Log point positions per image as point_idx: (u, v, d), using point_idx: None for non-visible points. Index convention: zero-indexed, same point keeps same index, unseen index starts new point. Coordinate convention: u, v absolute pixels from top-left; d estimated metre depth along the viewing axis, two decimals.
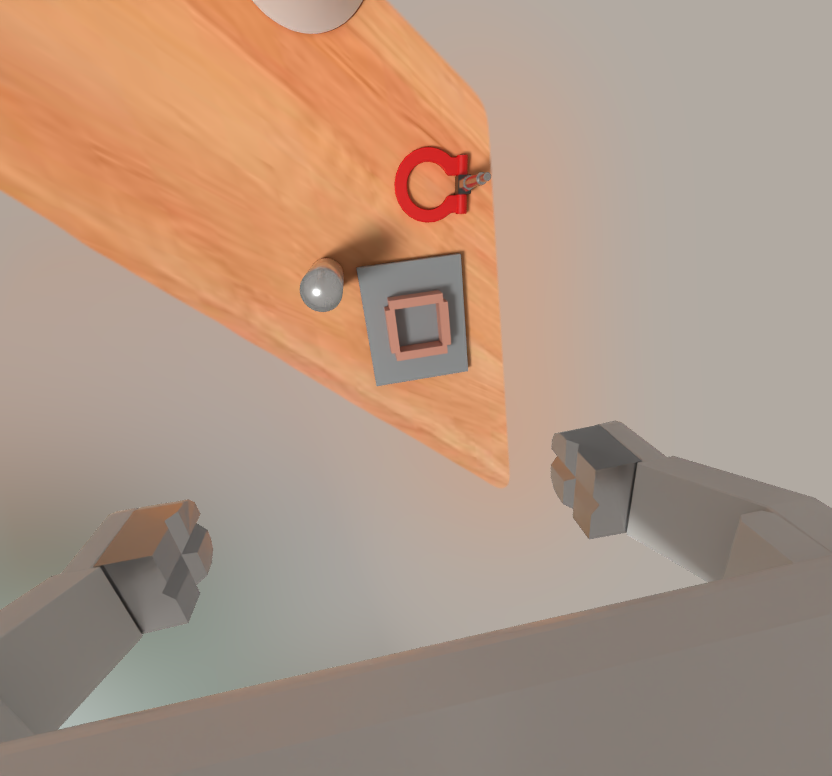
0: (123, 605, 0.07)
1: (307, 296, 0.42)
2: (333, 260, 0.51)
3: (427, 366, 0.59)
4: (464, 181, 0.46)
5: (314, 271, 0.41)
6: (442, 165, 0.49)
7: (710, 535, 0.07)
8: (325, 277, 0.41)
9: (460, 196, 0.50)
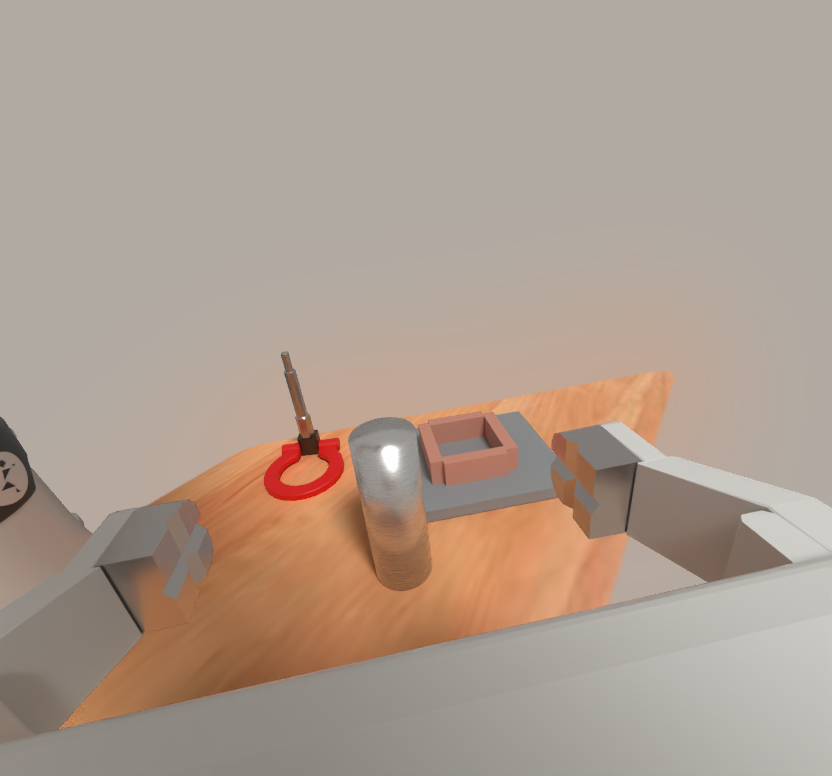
0: (123, 605, 0.07)
1: (388, 446, 0.24)
2: None
3: (524, 440, 0.42)
4: (299, 417, 0.44)
5: (350, 442, 0.25)
6: (287, 460, 0.44)
7: (710, 535, 0.07)
8: (361, 432, 0.26)
9: (320, 442, 0.46)
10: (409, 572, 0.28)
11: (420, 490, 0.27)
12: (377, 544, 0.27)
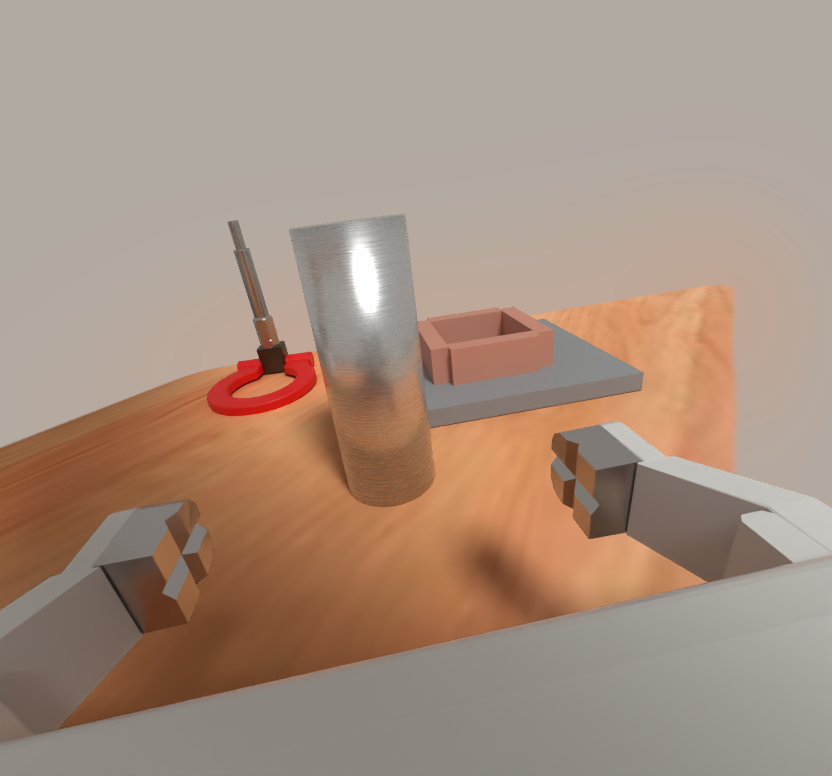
0: (123, 605, 0.07)
1: None
2: None
3: (556, 340, 0.32)
4: (257, 317, 0.33)
5: (292, 229, 0.15)
6: (242, 375, 0.34)
7: (710, 535, 0.07)
8: (313, 225, 0.16)
9: (288, 356, 0.35)
10: (398, 473, 0.17)
11: (414, 328, 0.16)
12: (346, 422, 0.17)
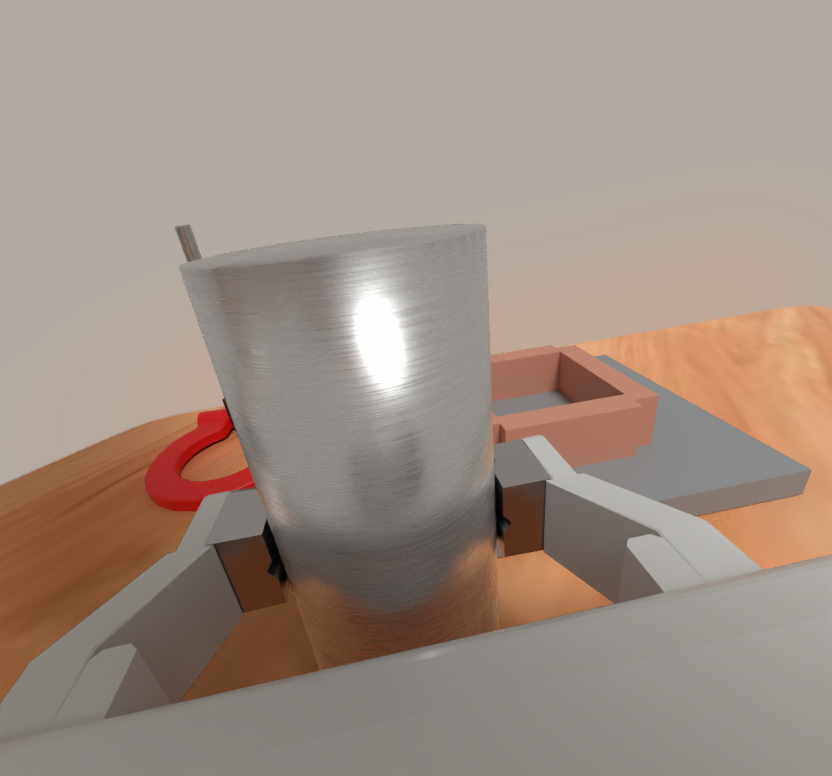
0: (230, 584, 0.07)
1: (361, 247, 0.05)
2: None
3: None
4: None
5: (192, 263, 0.06)
6: (201, 437, 0.25)
7: (612, 556, 0.07)
8: (258, 250, 0.07)
9: None
10: None
11: (492, 484, 0.07)
12: None
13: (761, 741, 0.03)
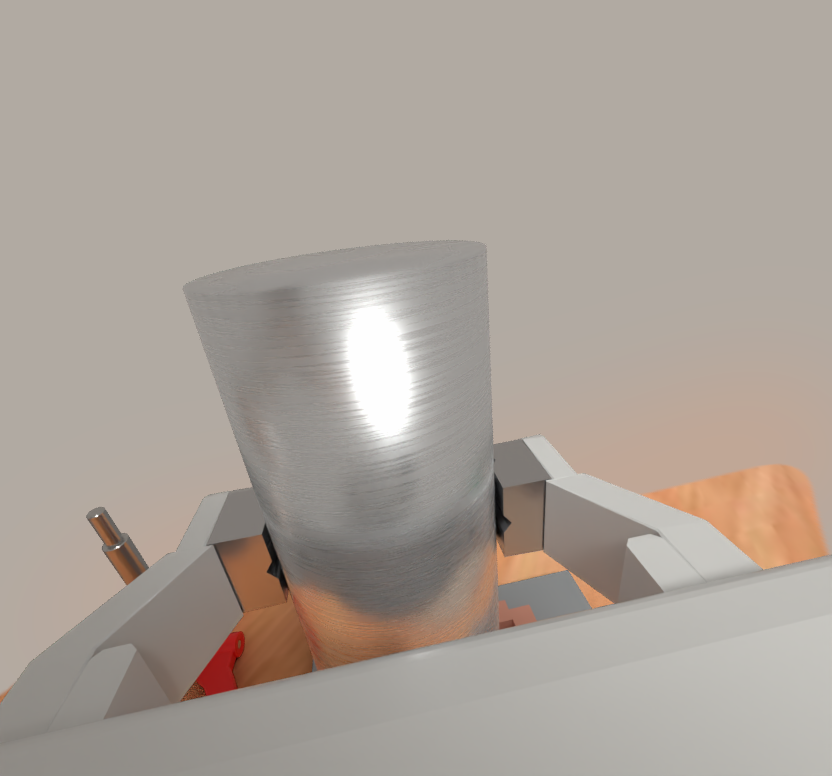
0: (230, 583, 0.07)
1: (363, 271, 0.05)
2: None
3: None
4: None
5: (196, 282, 0.06)
6: None
7: (612, 556, 0.07)
8: (261, 266, 0.07)
9: None
10: None
11: (492, 497, 0.07)
12: None
13: (761, 741, 0.03)
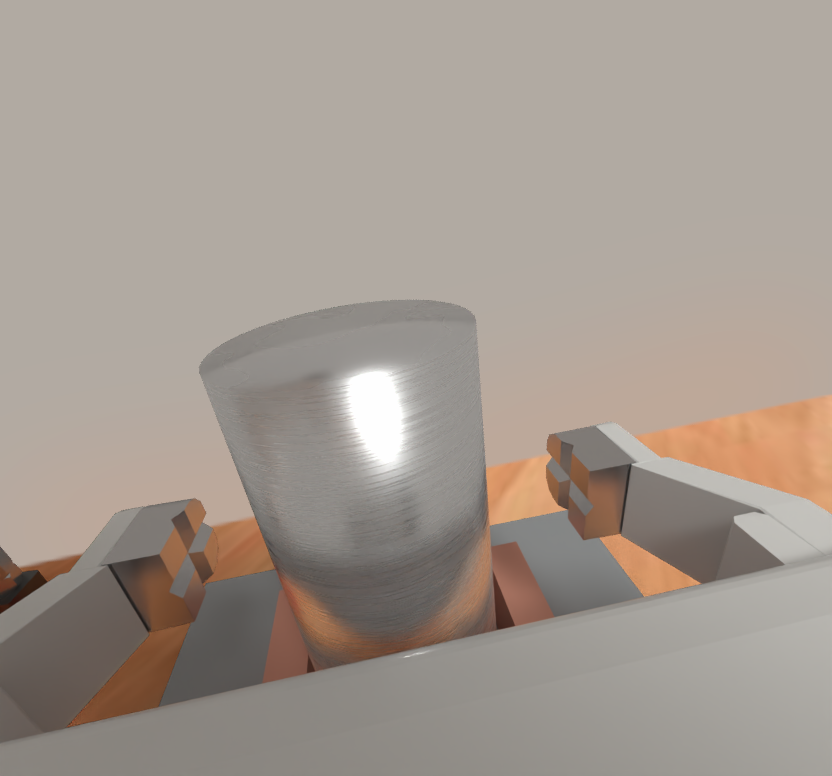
0: (130, 604, 0.07)
1: (362, 361, 0.05)
2: None
3: None
4: None
5: (210, 360, 0.06)
6: None
7: (704, 536, 0.07)
8: (268, 334, 0.07)
9: None
10: None
11: (487, 542, 0.08)
12: None
13: (761, 741, 0.03)
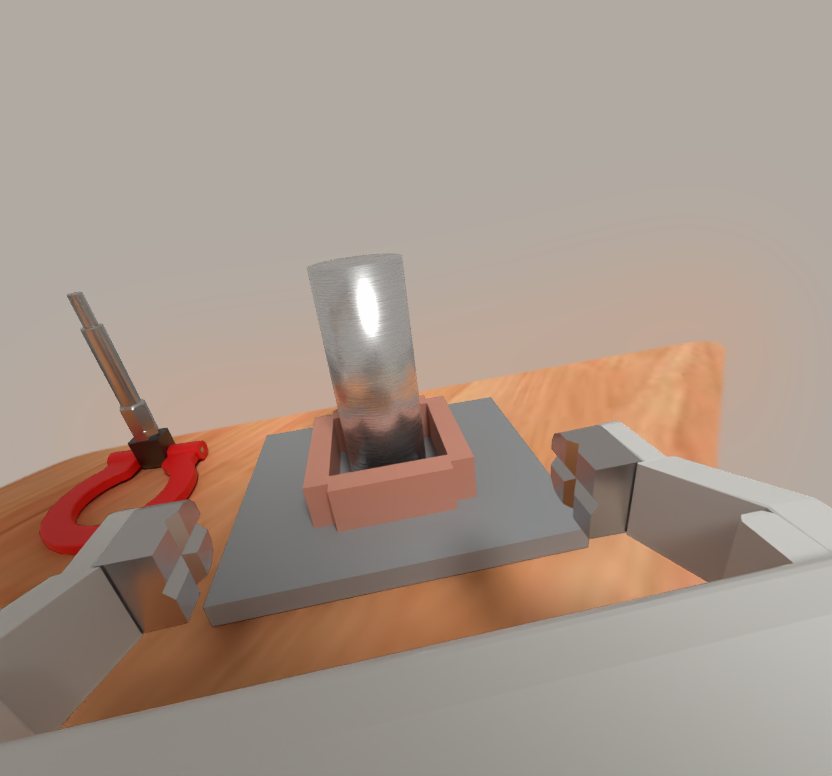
0: (123, 605, 0.07)
1: (362, 264, 0.17)
2: None
3: (494, 443, 0.25)
4: (123, 407, 0.26)
5: (309, 268, 0.18)
6: (105, 478, 0.27)
7: (710, 535, 0.07)
8: (326, 263, 0.19)
9: (171, 448, 0.29)
10: None
11: (409, 347, 0.19)
12: (352, 425, 0.20)
13: (761, 741, 0.03)
